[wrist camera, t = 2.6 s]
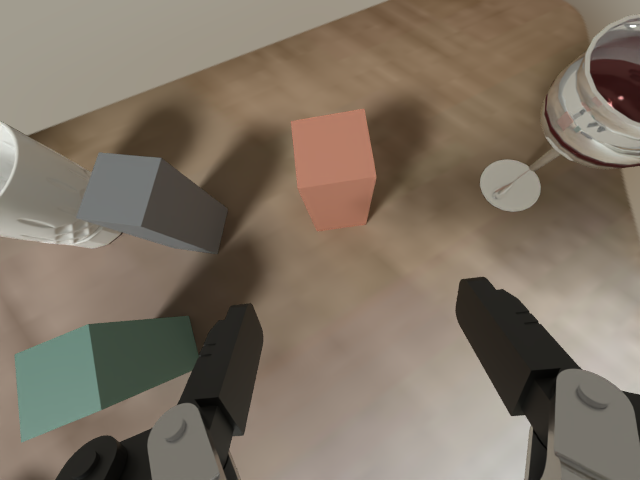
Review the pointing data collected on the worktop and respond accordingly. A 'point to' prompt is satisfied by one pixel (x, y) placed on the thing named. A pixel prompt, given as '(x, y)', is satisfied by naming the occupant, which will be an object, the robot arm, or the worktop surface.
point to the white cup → (43, 194)
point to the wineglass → (582, 117)
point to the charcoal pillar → (152, 203)
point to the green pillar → (98, 369)
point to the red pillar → (335, 168)
